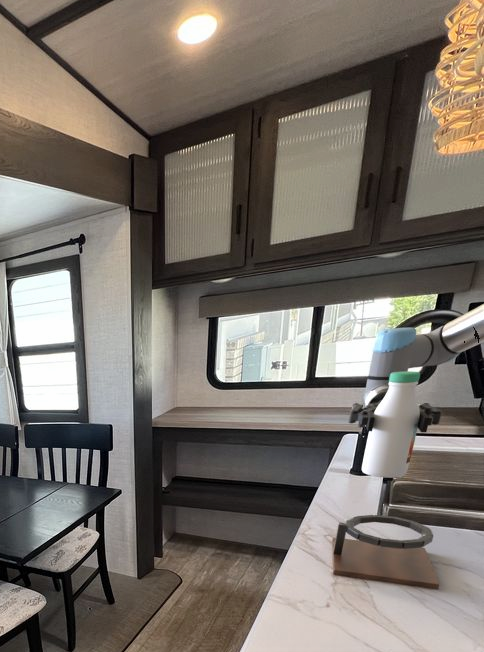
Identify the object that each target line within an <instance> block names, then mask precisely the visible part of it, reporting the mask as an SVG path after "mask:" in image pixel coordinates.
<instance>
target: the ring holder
mask: <svg viewBox="0 0 484 652" xmlns="http://www.w3.org/2000/svg"><path fill="white" fill-rule="evenodd" d="M368 523H369V524H371V523H379V524H389V525H396V526H400V527H403V528H407V529H410V530H412V531H414V532H416V533H418V534H420V535H421V536H420V537H418V538H414V539H403V540H401V539H391V538H383V537H378V536H376V535H375V536H374V535H371V534H367V533H364V532H362V531H361V530H359V529H357V528H356V527H357V526H358V525H360V524H368ZM336 529H337V530H336V535H335V537H332V539H331V552H332V553H331V554H332V574H333V575H336V576H345V577H350V578H358V579H364V580H372V581H379V582H384V583H385V582H386V583H392V584H400V585H407V586H414V587H421V588H427V589H434V590H439V589H440V587H441V585H440V582H439V579H438V577H437V574H436V572H435V569H434V566H433V564H432V562H431V560H430V557H429V555H428V553H427V550H426V548H425V546H427V545H429V544H431V543H432V542H433V539H434V534H433V532H432V530H431V528H430V527H428V526H426V525H424V524H423V523H422V524H421V523H419V522H417V521H414V520H410V519H406V518H402V517H399V516H392V515H391V516H390V515H381V514H366V515H357V516H353V517H351V518H349V519H347V520H346V521H345V522H338V524H337V528H336ZM346 534H348V535H349V536H351V537H352V538H353V539H350V538H346Z"/></svg>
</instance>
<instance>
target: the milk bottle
mask: <svg viewBox="0 0 484 652" xmlns="http://www.w3.org/2000/svg"><path fill="white" fill-rule="evenodd" d="M420 378H421V372H419V371H412V370H411V371H409V370H408V371H406V372H394V373H391V375H390V378H389V389H388V392H387V393H386V395H385V397H384V398H383V400H382V401H381V403H380V404H379V405H378V407H377V408H376V410H375V412H374V416H375V420H374V425H373V429H372V431H368V435H367V439H366V445H365V449H364V455H363V459H362V464H361V471H362V473H363V474H366V475H367V476H371V477H378V478H401V477H404V476H405V475H407V473H408V470H409V466H410V462H411V458H412V454H413V450H414V446H415V441H416V437H417V432H418V430H419V429H418V424H419V418H420V410H419V405H420V404H419V403H418V399H417V394H416V393H417V392H416V388H417V385H418V384H419V380H420Z"/></svg>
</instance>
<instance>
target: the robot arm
mask: <svg viewBox="0 0 484 652" xmlns="http://www.w3.org/2000/svg"><path fill="white" fill-rule="evenodd" d="M473 327H474V328H475V330H476V331H477V333H478V335H479V338H480V339H479V343H478V339H477V337H476V339H475V336H474V334H475V330H474V328H473ZM464 341H465V343H464ZM482 343H484V303H483V304H481V305H479V306H477V307H475V308H474V309H472V310H470V311H468V312H466V313H464V314H461V315H460V316H458V317H457V318H455V319H453V320H451V321H448V322H447V323H446V324H444V325H442V326H440V327H438V328H436V329H434V330H432V331H430V332H428V333H420V334H417V328H415V327H394V328H385V329H381V330H380V331H378V332H377V334H376V337H375V342H374V345H373V346H372V354H371V361H370V365H369V371H368V377H367V379H366V386H365V389H364V391H363V393H362V404H360V403H358V402H355V403H352V408H351V410H350V411H349V418H348V423H349V424H355V423H356V422H358V425H357V427H358V428H366V431H367V432H369V431H372V429H373V425H374V420H375V416H374V412H375V410H376V408H377V407H378V405H379V404H380V403H381V401H382V400H383V398H384V397H385V395H386V393H387V392H388V389H389V378H390V375H391V373H394V372H406V371H409V369H415V368H422V367H429V366H430V367H431V366H432V367H435V366H440V365H443V364H446V363H450V362H452V361H454V360H455V359H456V358H457V357H458V356H459V355H460V354H461V353H462V352H464V351H467V350H469V349H471V348H473V347H475V346H479V345H480V344H482ZM418 405H419V410H420V418H419V424H418V429H417V430H419V432H420V433H427V431H428V427H429V426H432V425H439V424H440V421H441V418H442V414H443V410H440V409H439V408H436V407H434V406H432V405H431V404H430V403H429V402H423V403H421V404H418Z"/></svg>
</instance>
